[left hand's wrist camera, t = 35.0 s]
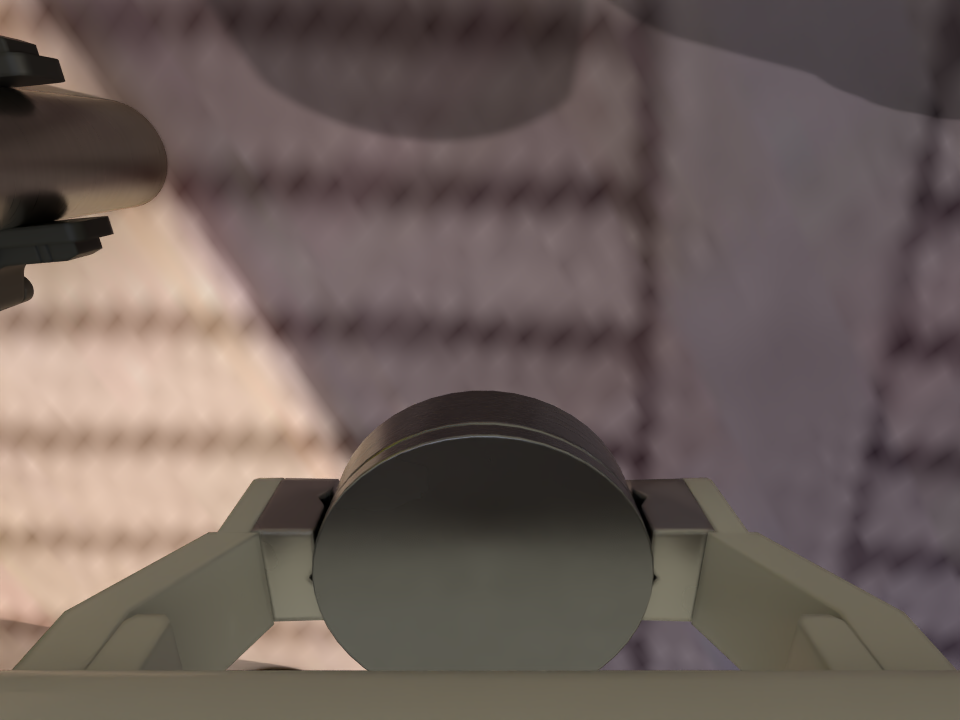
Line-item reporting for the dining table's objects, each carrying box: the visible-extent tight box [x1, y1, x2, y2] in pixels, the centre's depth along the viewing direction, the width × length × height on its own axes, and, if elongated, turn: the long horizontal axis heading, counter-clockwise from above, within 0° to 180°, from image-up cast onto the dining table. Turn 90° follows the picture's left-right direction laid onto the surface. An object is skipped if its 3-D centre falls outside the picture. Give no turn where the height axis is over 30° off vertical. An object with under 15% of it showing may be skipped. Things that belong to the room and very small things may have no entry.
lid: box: [312, 391, 654, 671], centre depth 9 cm, size 5×5×2 cm
